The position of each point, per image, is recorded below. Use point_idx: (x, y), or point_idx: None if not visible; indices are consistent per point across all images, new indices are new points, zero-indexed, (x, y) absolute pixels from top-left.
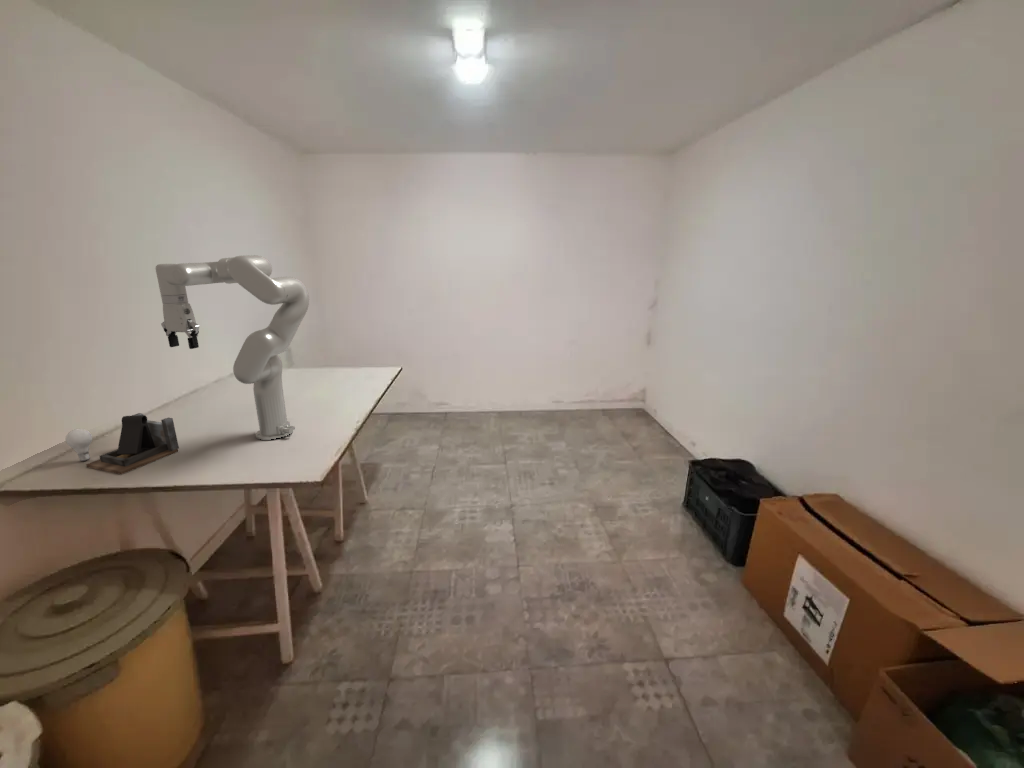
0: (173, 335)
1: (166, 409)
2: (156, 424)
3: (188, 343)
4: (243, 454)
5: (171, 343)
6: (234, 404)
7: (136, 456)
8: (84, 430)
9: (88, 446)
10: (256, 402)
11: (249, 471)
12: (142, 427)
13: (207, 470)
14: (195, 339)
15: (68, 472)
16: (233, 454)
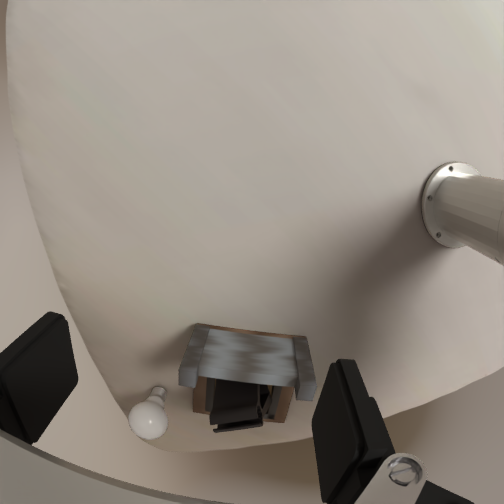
0: (8, 411)
1: (27, 110)
2: (268, 383)
3: (317, 459)
4: (445, 315)
5: (64, 397)
6: (165, 8)
7: (277, 403)
8: (152, 429)
9: (162, 405)
10: (497, 261)
11: (475, 359)
12: (263, 411)
13: (416, 378)
14: (385, 452)
15: (187, 421)
16: (428, 320)
